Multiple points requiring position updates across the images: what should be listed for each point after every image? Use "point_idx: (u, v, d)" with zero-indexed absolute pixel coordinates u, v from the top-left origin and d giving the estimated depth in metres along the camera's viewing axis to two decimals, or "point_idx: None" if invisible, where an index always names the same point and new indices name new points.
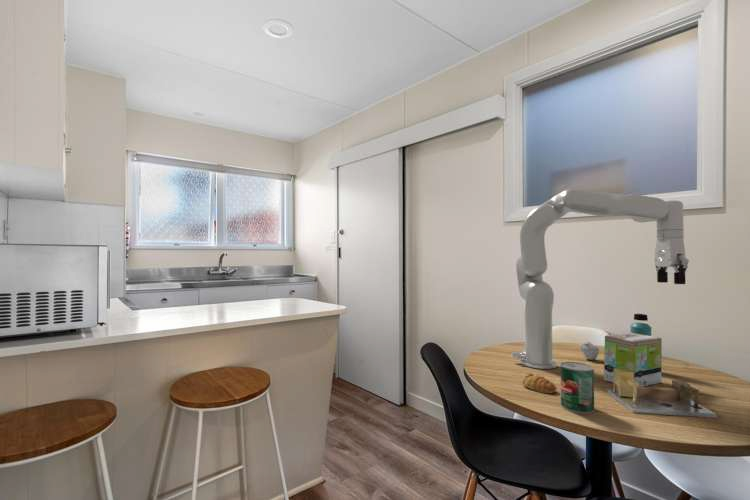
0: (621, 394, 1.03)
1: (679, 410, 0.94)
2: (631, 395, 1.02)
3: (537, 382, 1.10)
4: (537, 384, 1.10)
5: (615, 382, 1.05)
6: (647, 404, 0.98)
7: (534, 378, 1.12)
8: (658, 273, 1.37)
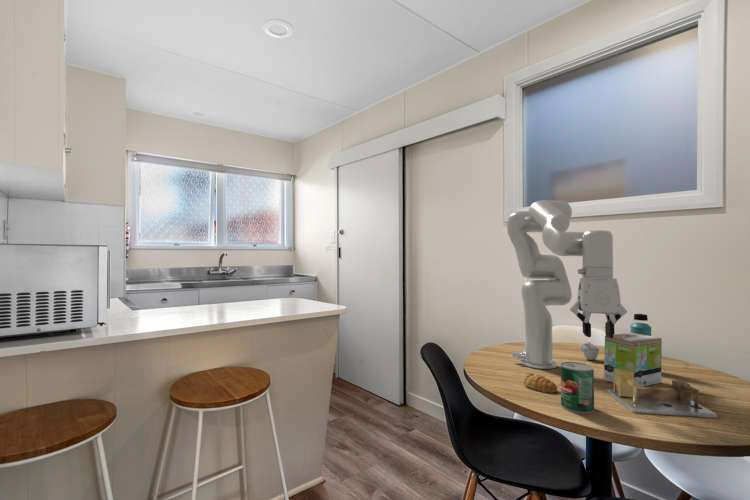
0: (621, 394, 1.03)
1: (679, 410, 0.94)
2: (631, 395, 1.02)
3: (538, 382, 1.11)
4: (538, 384, 1.10)
5: (615, 382, 1.05)
6: (647, 404, 0.98)
7: (535, 378, 1.13)
8: (590, 325, 1.05)
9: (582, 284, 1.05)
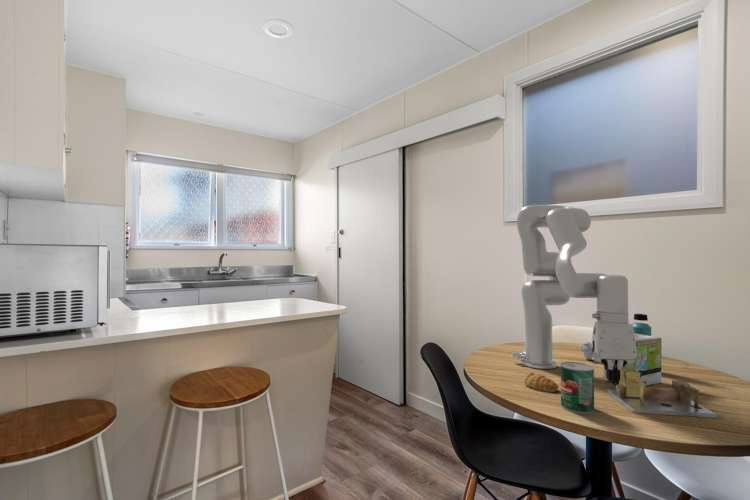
0: (627, 394, 1.02)
1: (679, 410, 0.94)
2: (637, 395, 1.02)
3: (539, 381, 1.11)
4: (539, 383, 1.11)
5: (621, 382, 1.05)
6: (647, 404, 0.98)
7: (536, 377, 1.13)
8: (614, 372, 1.03)
9: (597, 329, 1.05)
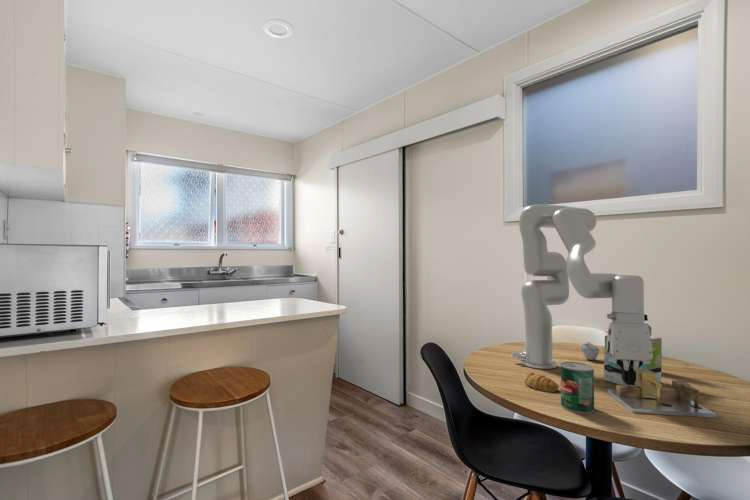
0: (643, 395, 1.02)
1: (679, 410, 0.94)
2: (653, 396, 1.01)
3: (540, 381, 1.12)
4: (540, 383, 1.11)
5: (636, 383, 1.04)
6: (647, 404, 0.98)
7: (536, 377, 1.13)
8: (630, 373, 1.03)
9: (612, 330, 1.04)
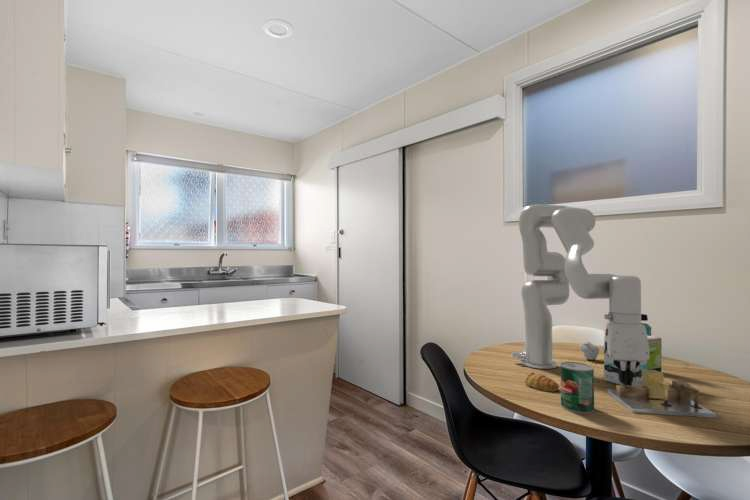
0: (650, 396, 1.01)
1: (679, 410, 0.94)
2: (661, 397, 1.01)
3: (540, 381, 1.12)
4: (540, 383, 1.11)
5: (643, 384, 1.04)
6: (647, 404, 0.98)
7: (537, 377, 1.13)
8: (627, 373, 1.03)
9: (610, 330, 1.04)
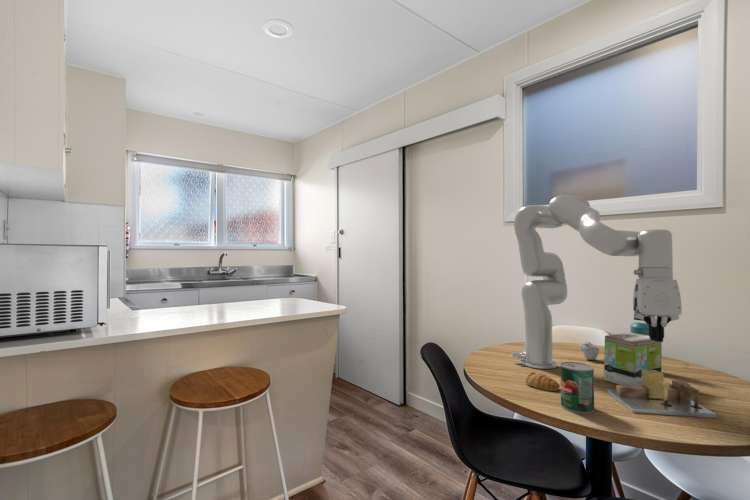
0: (650, 396, 1.01)
1: (679, 410, 0.94)
2: (661, 397, 1.01)
3: (541, 381, 1.12)
4: (541, 382, 1.12)
5: (643, 384, 1.04)
6: (647, 404, 0.98)
7: (537, 376, 1.14)
8: (658, 329, 1.00)
9: (640, 285, 1.01)
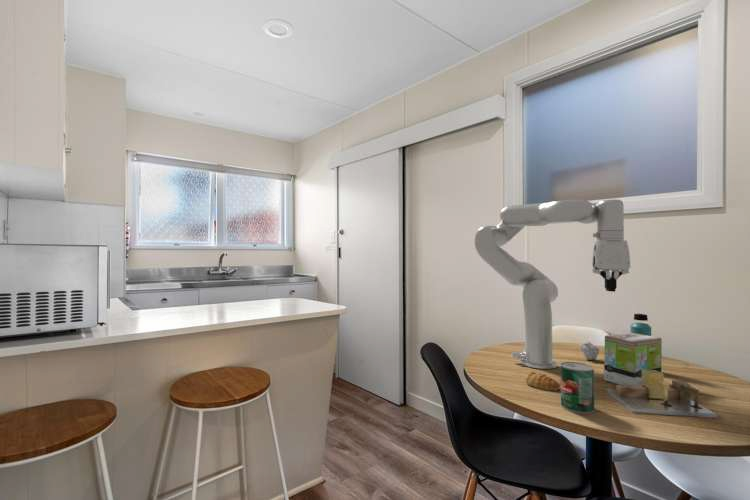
0: (650, 396, 1.01)
1: (679, 410, 0.94)
2: (661, 397, 1.01)
3: (541, 380, 1.12)
4: (541, 382, 1.12)
5: (643, 384, 1.04)
6: (647, 404, 0.98)
7: (538, 376, 1.14)
8: (611, 281, 1.22)
9: (597, 245, 1.23)
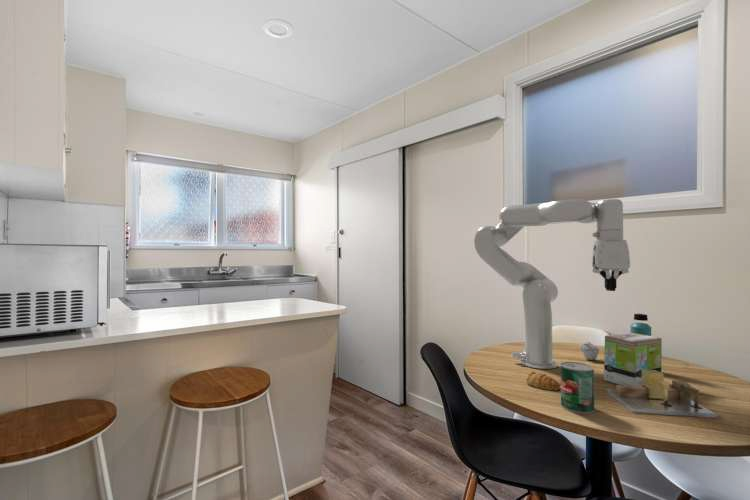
0: (650, 396, 1.01)
1: (679, 410, 0.94)
2: (661, 397, 1.01)
3: (542, 380, 1.13)
4: (542, 382, 1.12)
5: (643, 384, 1.04)
6: (647, 404, 0.98)
7: (538, 376, 1.14)
8: (611, 281, 1.23)
9: (597, 245, 1.24)
